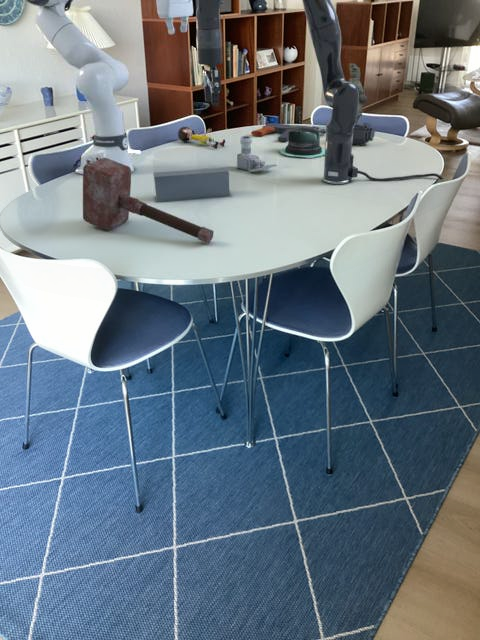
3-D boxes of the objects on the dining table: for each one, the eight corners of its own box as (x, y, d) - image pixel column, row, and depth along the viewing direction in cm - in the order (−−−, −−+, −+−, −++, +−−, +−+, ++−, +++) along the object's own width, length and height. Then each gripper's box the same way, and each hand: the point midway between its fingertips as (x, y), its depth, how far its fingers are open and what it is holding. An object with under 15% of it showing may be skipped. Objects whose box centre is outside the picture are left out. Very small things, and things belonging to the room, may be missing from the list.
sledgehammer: (223, 202, 148) (103, 155, 160) (205, 213, 141) (81, 164, 152) (214, 257, 158) (102, 210, 170) (196, 271, 151) (81, 220, 163)
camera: (247, 133, 214) (277, 139, 205) (247, 164, 220) (276, 171, 211) (231, 137, 209) (262, 144, 200) (232, 169, 215) (261, 176, 206)
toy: (345, 120, 249) (377, 123, 242) (343, 139, 253) (375, 143, 246) (337, 123, 243) (369, 127, 236) (336, 143, 247) (367, 147, 240)
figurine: (211, 139, 238) (170, 125, 250) (210, 157, 242) (170, 142, 255) (230, 134, 247) (190, 120, 259) (229, 150, 251) (189, 136, 263)
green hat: (332, 145, 241) (326, 158, 224) (294, 164, 249) (286, 177, 233) (317, 113, 235) (310, 124, 219) (279, 133, 244) (269, 145, 228)
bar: (157, 202, 183) (154, 176, 179) (155, 196, 188) (153, 172, 183) (229, 196, 187) (228, 171, 182) (226, 191, 191) (226, 167, 187)
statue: (367, 132, 266) (374, 63, 251) (349, 133, 264) (355, 64, 249) (357, 127, 275) (362, 61, 260) (339, 129, 273) (344, 62, 258)
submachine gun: (244, 132, 259) (268, 122, 277) (244, 138, 260) (268, 128, 279) (307, 138, 245) (328, 127, 264) (307, 145, 246) (328, 133, 265)
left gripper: (179, -16, 185) (182, 31, 192) (151, -16, 169) (155, 35, 176) (196, -16, 183) (198, 31, 190) (169, -17, 167) (173, 35, 174)
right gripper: (228, 47, 160) (229, 106, 168) (215, 44, 172) (217, 99, 180) (202, 48, 158) (205, 108, 167) (191, 45, 170) (195, 101, 178)
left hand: (177, 33), depth 183 cm, fingers open, 8 cm apart
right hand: (212, 103), depth 173 cm, fingers open, 8 cm apart
